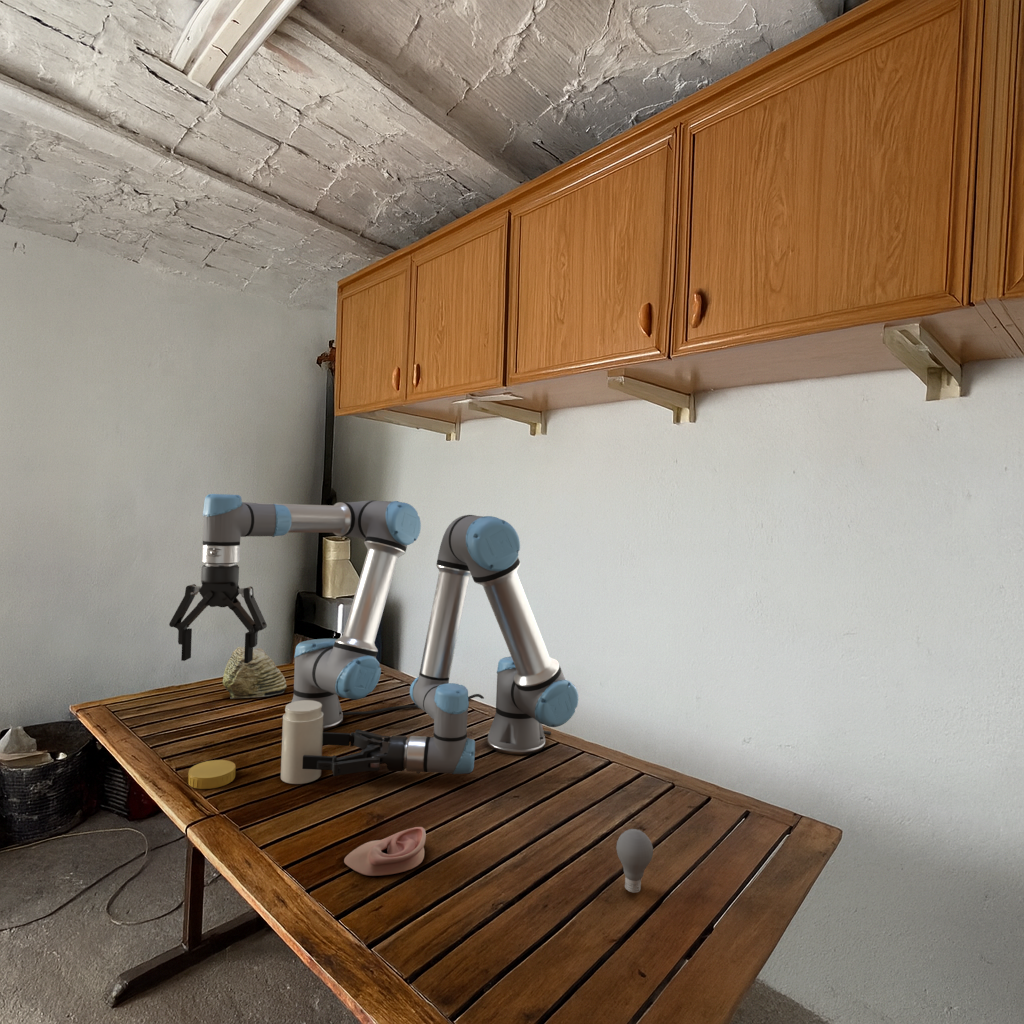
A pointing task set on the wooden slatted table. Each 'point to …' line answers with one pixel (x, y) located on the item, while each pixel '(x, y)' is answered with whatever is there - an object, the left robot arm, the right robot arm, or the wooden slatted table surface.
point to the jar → (301, 740)
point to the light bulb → (634, 857)
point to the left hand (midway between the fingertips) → (217, 660)
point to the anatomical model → (389, 853)
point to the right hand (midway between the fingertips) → (312, 749)
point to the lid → (211, 774)
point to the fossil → (252, 675)
